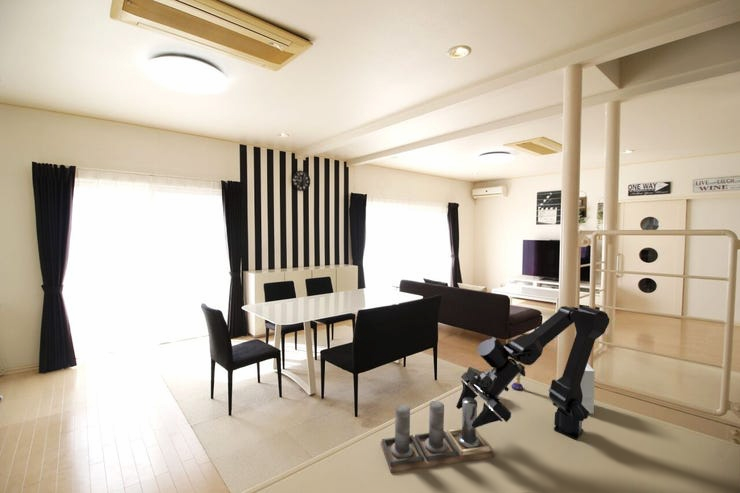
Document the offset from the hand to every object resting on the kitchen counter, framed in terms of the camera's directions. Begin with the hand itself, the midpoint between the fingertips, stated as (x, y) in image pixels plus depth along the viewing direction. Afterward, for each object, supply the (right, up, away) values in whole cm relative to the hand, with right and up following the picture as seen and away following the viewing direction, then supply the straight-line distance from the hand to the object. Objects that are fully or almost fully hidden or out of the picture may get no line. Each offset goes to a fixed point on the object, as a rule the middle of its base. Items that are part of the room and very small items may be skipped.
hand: (464, 417), depth 95 cm
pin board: (-9, -9, -1) cm, 12 cm away
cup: (+15, -7, +28) cm, 33 cm away
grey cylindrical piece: (+1, -8, +1) cm, 8 cm away
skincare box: (+47, -7, +21) cm, 52 cm away
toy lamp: (+30, -6, +34) cm, 46 cm away
